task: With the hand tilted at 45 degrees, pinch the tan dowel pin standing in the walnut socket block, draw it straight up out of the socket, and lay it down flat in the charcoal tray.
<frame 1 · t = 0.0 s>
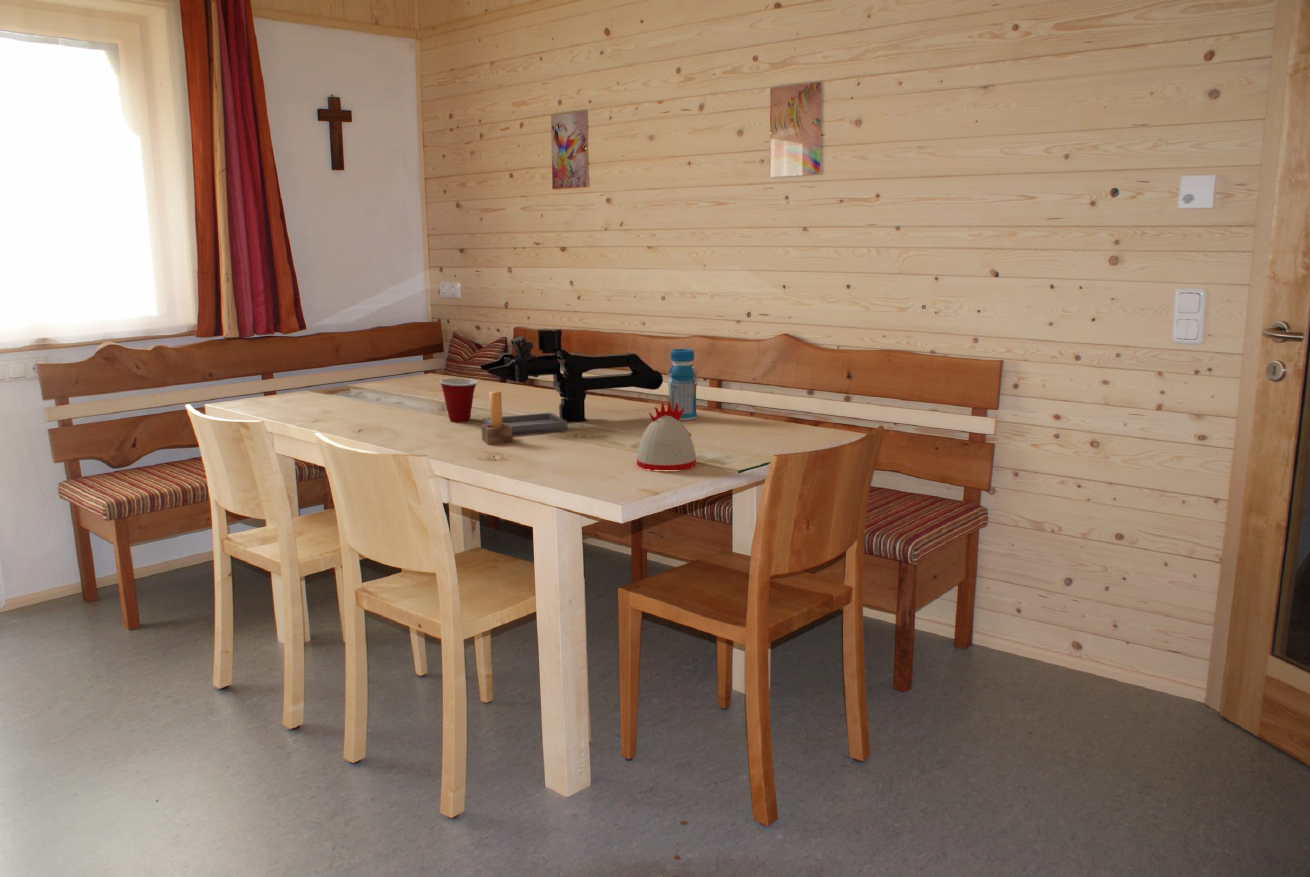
hand: (484, 369, 271), 17 cm above the table, tool horizontal, fingers open, 9 cm apart
charcoal tray: (525, 428, 272), on the table
beverage bottle: (682, 418, 285), on the table
walnut socket block: (497, 441, 256), on the table
chicken hat: (666, 465, 229), on the table
tan dowel pin: (496, 416, 255), in the walnut socket block
plastic cup: (460, 421, 285), on the table
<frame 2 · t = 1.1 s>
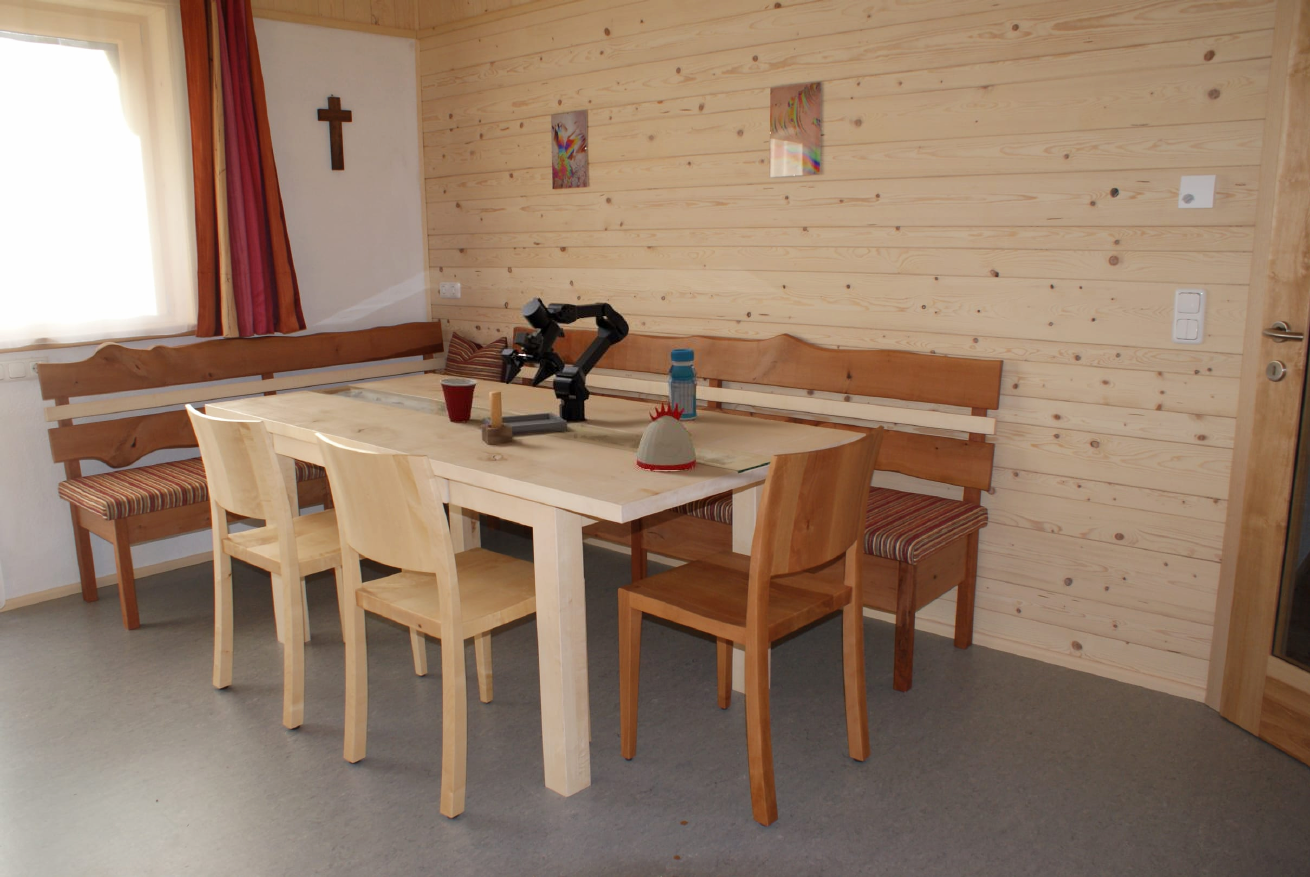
hand: (519, 384, 263), 13 cm above the table, tool tilted 45°, fingers open, 9 cm apart
nothing on the table moved.
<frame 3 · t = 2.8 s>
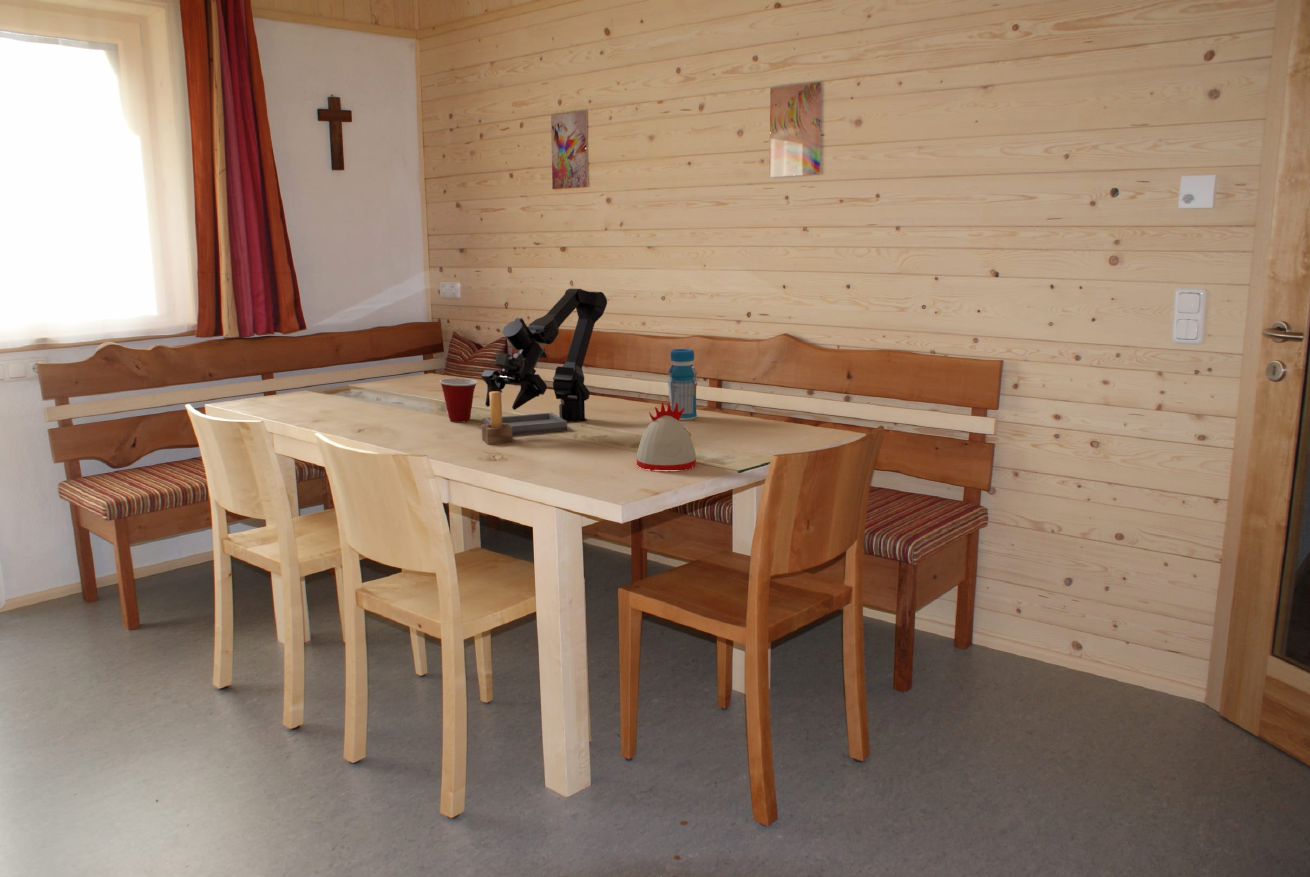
hand: (499, 407, 256), 9 cm above the table, tool tilted 45°, fingers open, 9 cm apart
nothing on the table moved.
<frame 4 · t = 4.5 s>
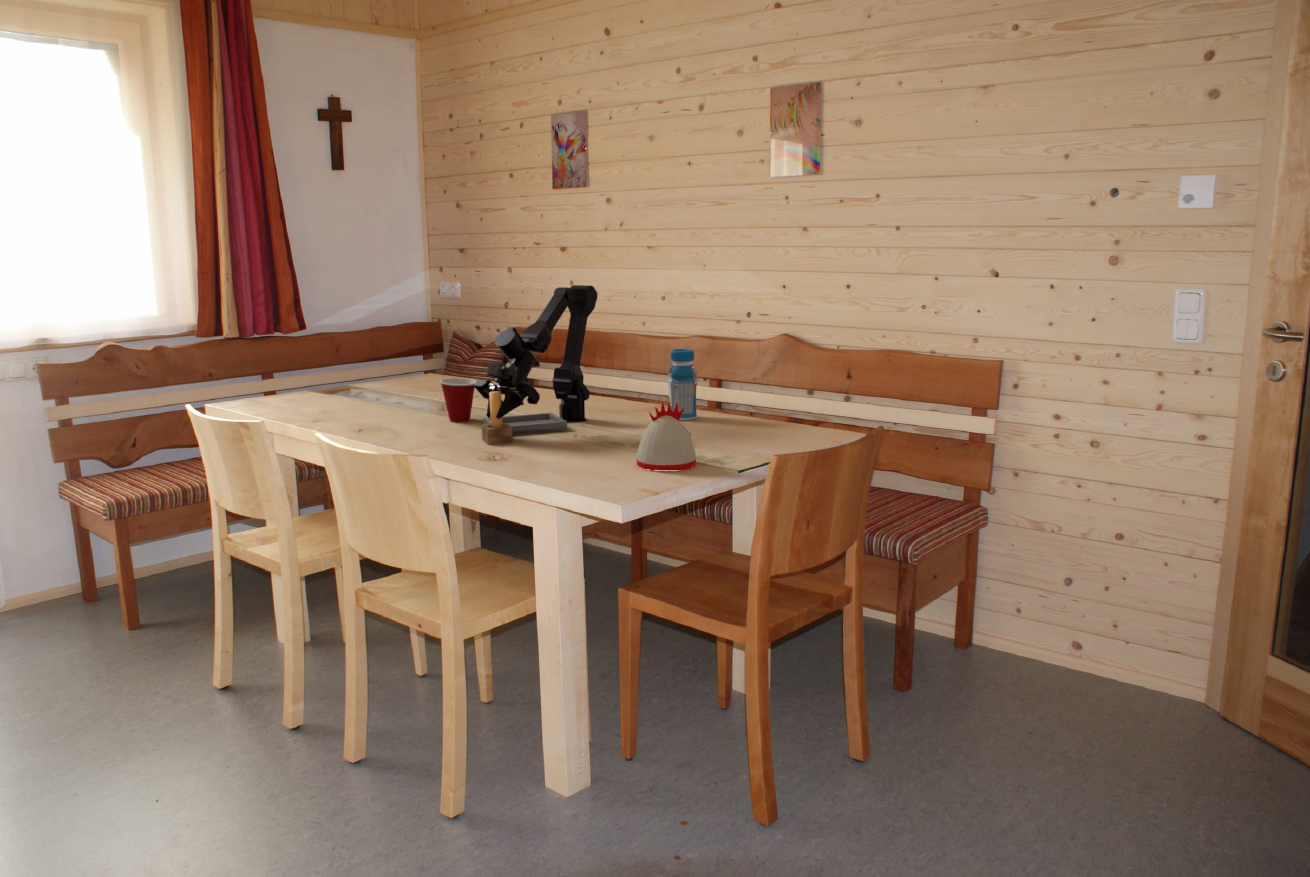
hand: (492, 417, 254), 7 cm above the table, tool tilted 45°, fingers closed on tan dowel pin, 3 cm apart
tan dowel pin: (496, 416, 255), in the walnut socket block, touching gripper
everything else where it was.
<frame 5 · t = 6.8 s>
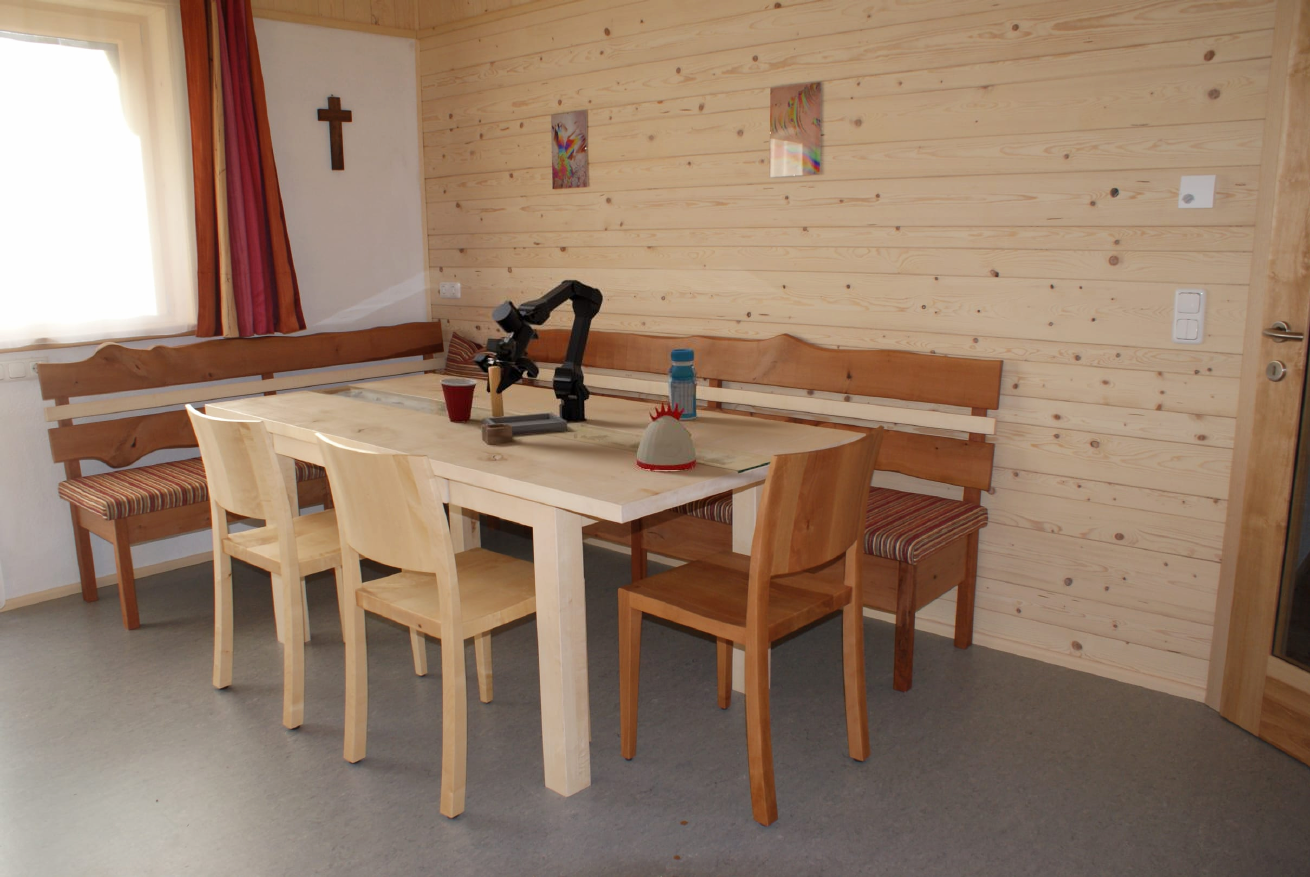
hand: (492, 392, 254), 13 cm above the table, tool tilted 40°, fingers closed on tan dowel pin, 3 cm apart
tan dowel pin: (496, 391, 255), point 13 cm above the table, touching gripper
everything else where it was.
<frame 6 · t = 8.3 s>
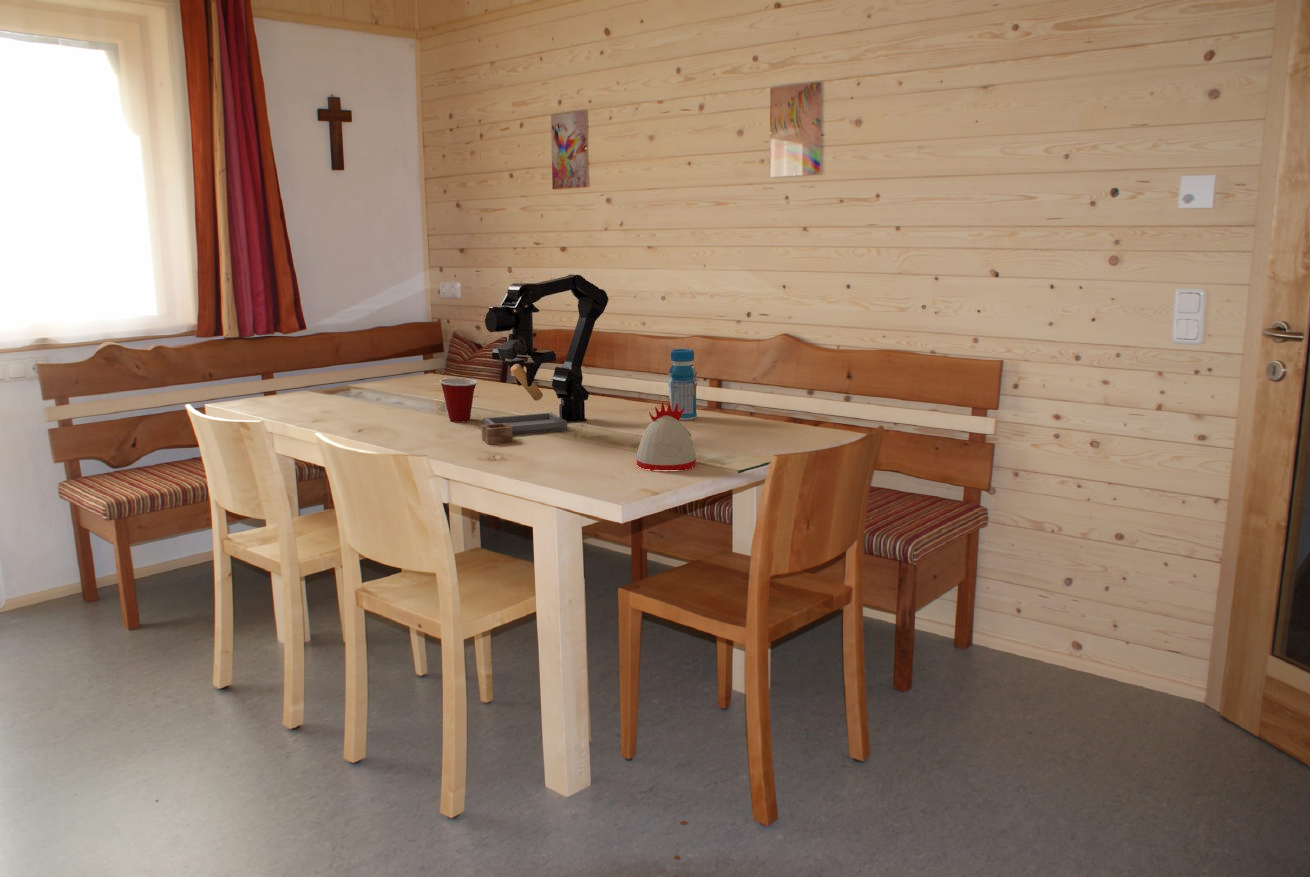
hand: (524, 386, 270), 12 cm above the table, tool pointing down, fingers closed on tan dowel pin, 3 cm apart
tan dowel pin: (527, 382, 271), point 13 cm above the table, tilted 45°, touching gripper
everything else where it was.
when the fingers open (7 cm above the table, at t = 9.5 s): tan dowel pin drops 5 cm and tips over, resting on charcoal tray.
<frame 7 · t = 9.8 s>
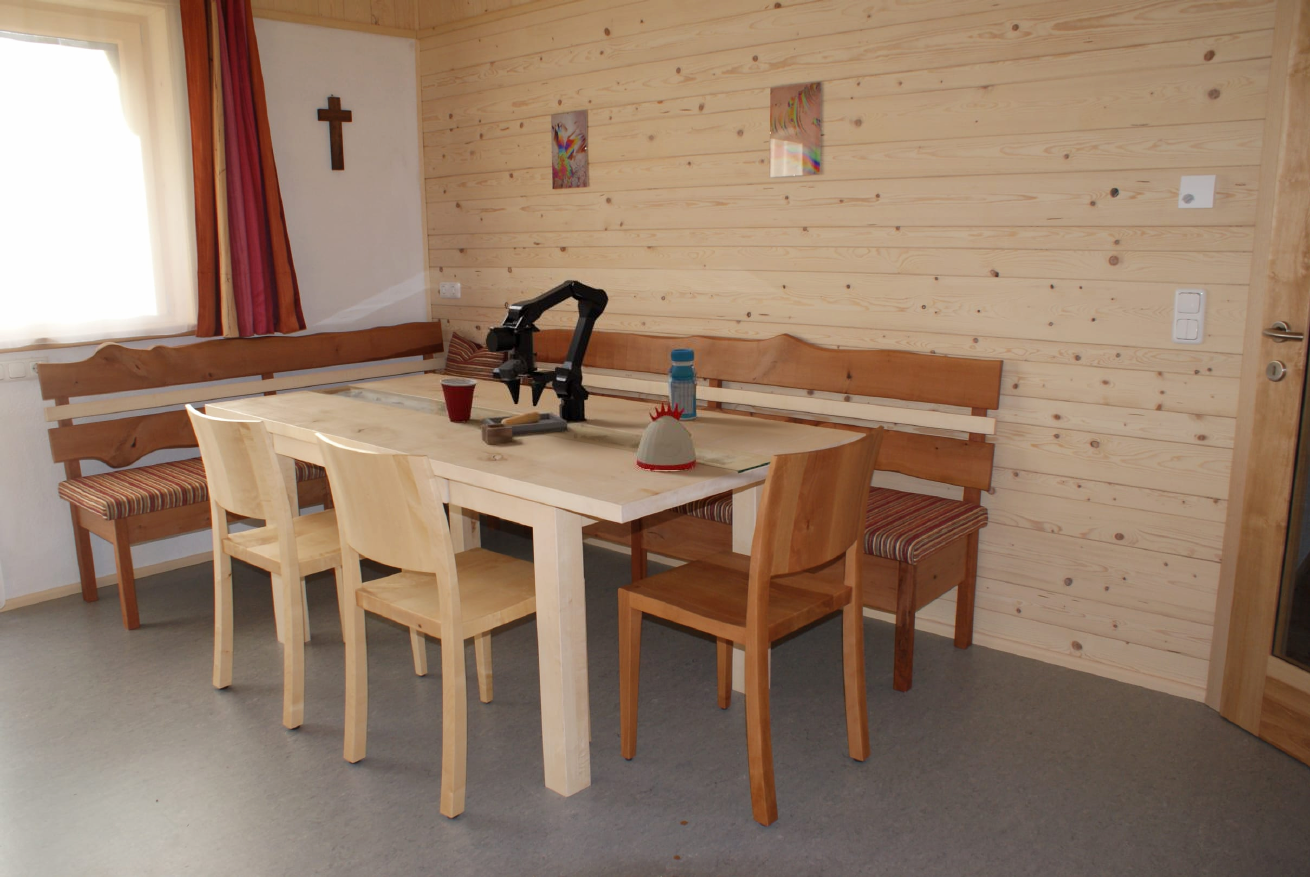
hand: (525, 405, 271), 7 cm above the table, tool pointing down, fingers open, 6 cm apart
tan dowel pin: (520, 420, 271), in the charcoal tray, tilted 90°
everything else where it was.
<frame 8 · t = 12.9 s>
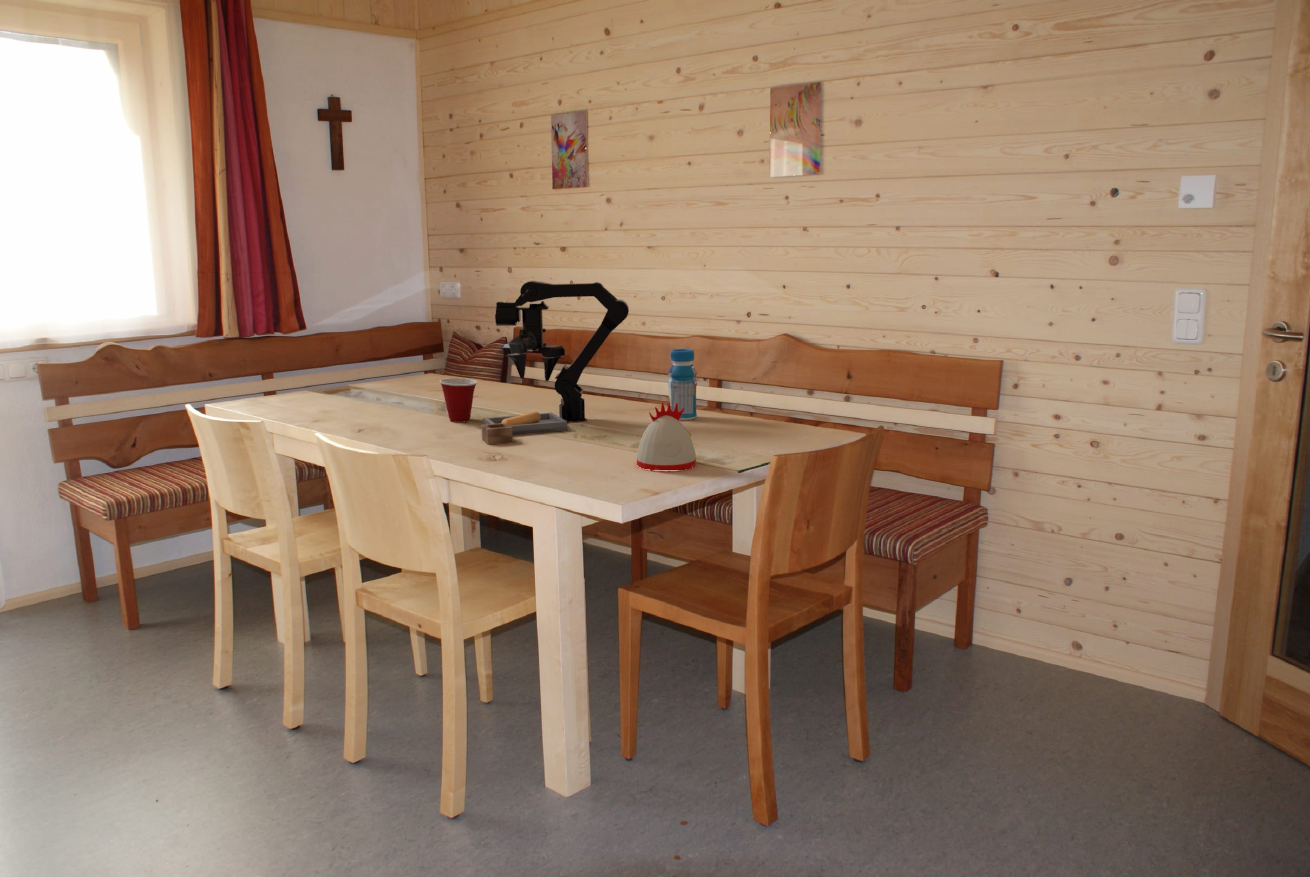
hand: (534, 379, 281), 12 cm above the table, tool pointing down, fingers open, 9 cm apart
nothing on the table moved.
at the end: tan dowel pin inside the target area on the charcoal tray (5.2 cm from its centre), point 2.5 cm above the charcoal tray's base; tan dowel pin tilted 90°; the gripper is holding nothing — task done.
